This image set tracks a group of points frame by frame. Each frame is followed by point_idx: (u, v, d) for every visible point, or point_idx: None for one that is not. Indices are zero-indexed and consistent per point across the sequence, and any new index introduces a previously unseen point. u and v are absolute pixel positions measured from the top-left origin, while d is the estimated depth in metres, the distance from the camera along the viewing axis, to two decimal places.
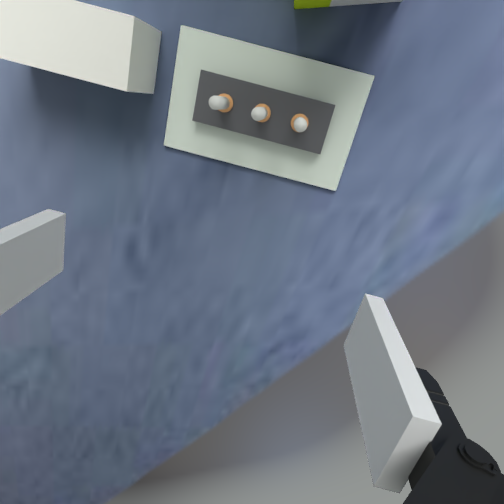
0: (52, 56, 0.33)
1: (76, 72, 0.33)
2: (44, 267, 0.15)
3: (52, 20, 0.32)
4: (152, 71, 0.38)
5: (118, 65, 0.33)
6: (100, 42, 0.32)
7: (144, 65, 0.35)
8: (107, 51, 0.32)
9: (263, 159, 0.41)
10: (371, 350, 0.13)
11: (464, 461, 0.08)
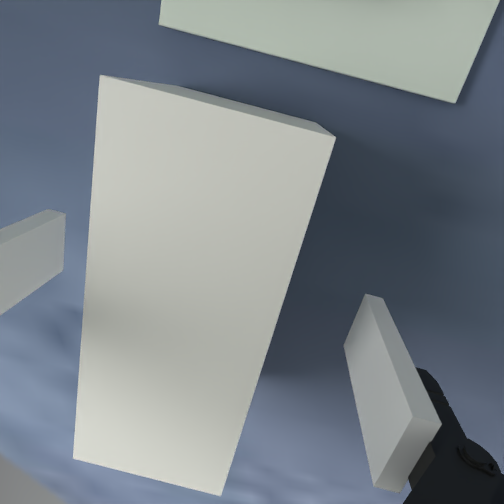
0: (227, 347, 0.12)
1: (268, 295, 0.11)
2: (44, 267, 0.15)
3: (141, 328, 0.12)
4: (264, 109, 0.14)
5: (251, 157, 0.09)
6: (185, 207, 0.10)
7: (250, 108, 0.12)
8: (209, 188, 0.10)
9: None
10: (371, 350, 0.13)
11: (464, 461, 0.08)
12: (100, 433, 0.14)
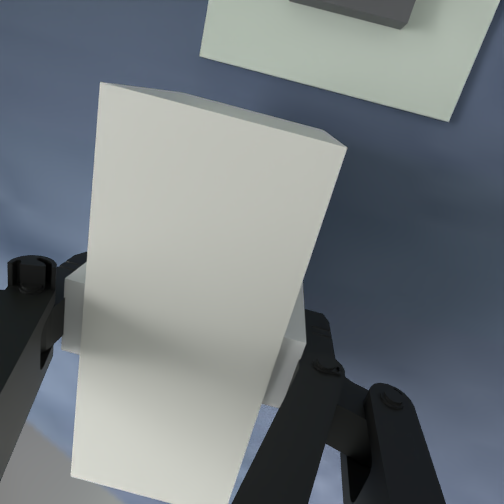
0: (231, 365, 0.11)
1: (274, 311, 0.10)
2: None
3: (141, 344, 0.11)
4: (270, 117, 0.14)
5: (258, 168, 0.09)
6: (188, 219, 0.10)
7: (256, 116, 0.12)
8: (213, 200, 0.09)
9: None
10: None
11: (318, 371, 0.10)
12: (99, 451, 0.13)
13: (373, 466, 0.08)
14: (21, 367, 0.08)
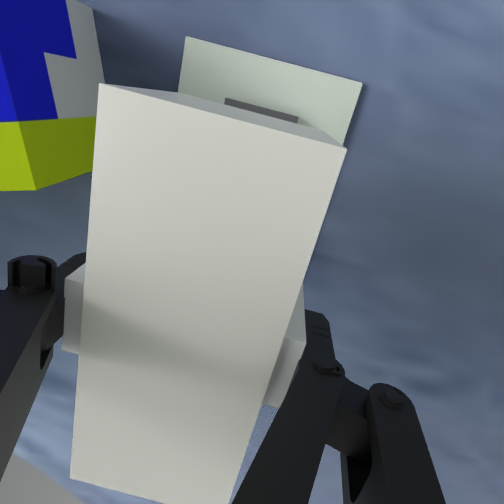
0: (230, 367, 0.11)
1: (274, 312, 0.10)
2: None
3: (140, 346, 0.11)
4: (270, 117, 0.14)
5: (257, 169, 0.09)
6: (187, 220, 0.10)
7: (256, 117, 0.12)
8: (213, 201, 0.09)
9: None
10: None
11: (318, 371, 0.10)
12: (98, 453, 0.13)
13: (373, 466, 0.08)
14: (21, 367, 0.08)
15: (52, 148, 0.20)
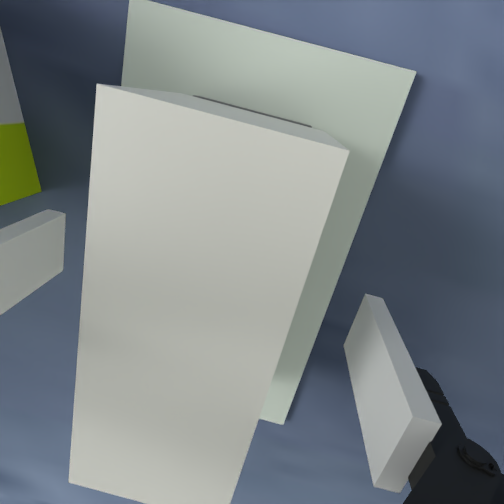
0: (230, 371, 0.11)
1: (275, 316, 0.10)
2: (44, 267, 0.15)
3: (139, 350, 0.11)
4: (270, 118, 0.14)
5: (258, 171, 0.09)
6: (186, 223, 0.09)
7: (256, 118, 0.12)
8: (212, 204, 0.09)
9: (319, 256, 0.18)
10: (371, 350, 0.13)
11: (464, 461, 0.08)
12: (97, 457, 0.13)
13: None
14: None
15: None
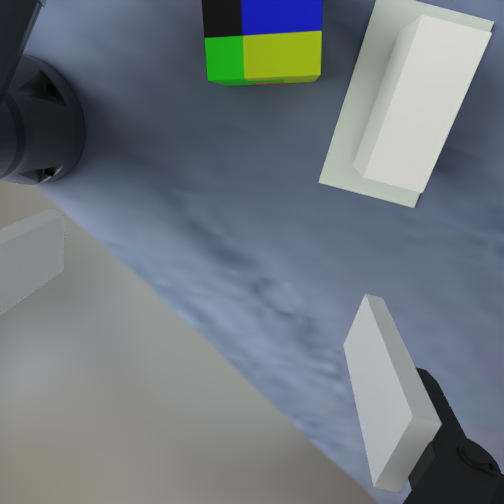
0: (441, 115, 0.33)
1: (460, 91, 0.32)
2: (44, 267, 0.15)
3: (410, 109, 0.33)
4: None
5: (464, 40, 0.31)
6: (438, 58, 0.32)
7: None
8: (448, 51, 0.31)
9: None
10: (371, 350, 0.13)
11: (464, 461, 0.08)
12: (379, 162, 0.35)
13: None
14: None
15: None
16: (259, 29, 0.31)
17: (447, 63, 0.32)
